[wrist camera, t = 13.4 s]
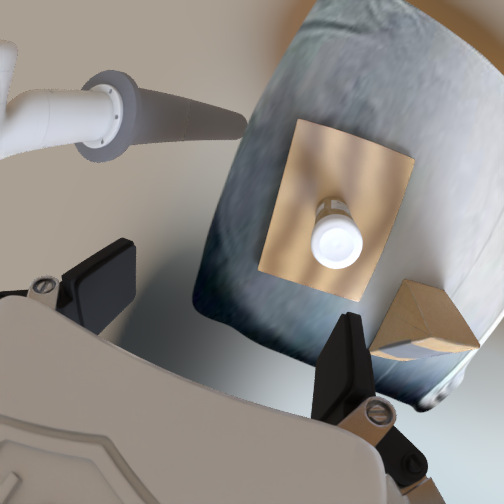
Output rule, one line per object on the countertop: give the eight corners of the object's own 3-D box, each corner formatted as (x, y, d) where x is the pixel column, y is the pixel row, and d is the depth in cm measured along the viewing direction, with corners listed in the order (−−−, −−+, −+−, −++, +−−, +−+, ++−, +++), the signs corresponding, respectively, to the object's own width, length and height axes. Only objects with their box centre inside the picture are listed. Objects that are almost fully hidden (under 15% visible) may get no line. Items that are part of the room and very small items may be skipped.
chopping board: (259, 266, 42) (257, 270, 40) (298, 119, 32) (297, 118, 31) (358, 297, 40) (359, 302, 38) (412, 158, 30) (415, 159, 29)
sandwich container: (365, 353, 43) (370, 420, 29) (402, 277, 37) (431, 336, 23) (405, 361, 41) (418, 425, 28) (445, 290, 35) (481, 347, 22)
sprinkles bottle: (309, 206, 35) (299, 235, 23) (339, 188, 33) (347, 208, 21) (326, 235, 36) (326, 279, 23) (356, 219, 34) (372, 255, 22)
